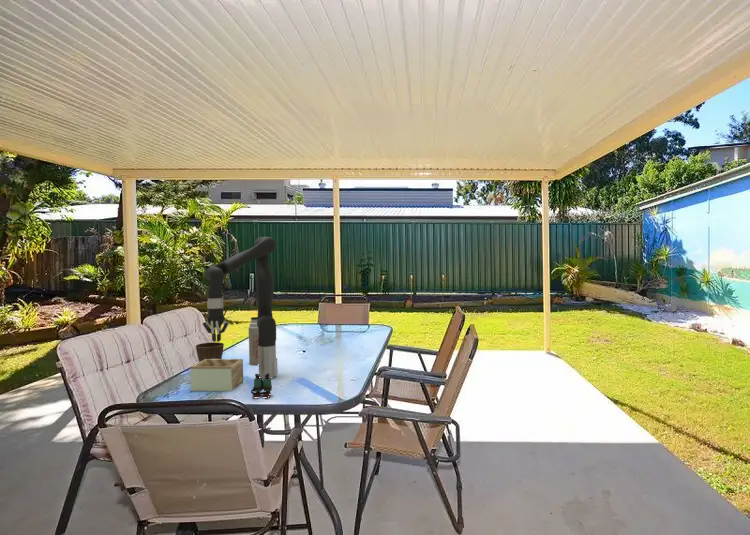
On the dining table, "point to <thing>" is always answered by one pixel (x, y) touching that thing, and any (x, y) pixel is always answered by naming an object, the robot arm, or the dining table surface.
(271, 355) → the robot arm
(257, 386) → the binoculars
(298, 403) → the dining table surface
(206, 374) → the panel
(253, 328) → the thermos bottle
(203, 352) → the plant pot
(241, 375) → the crate
